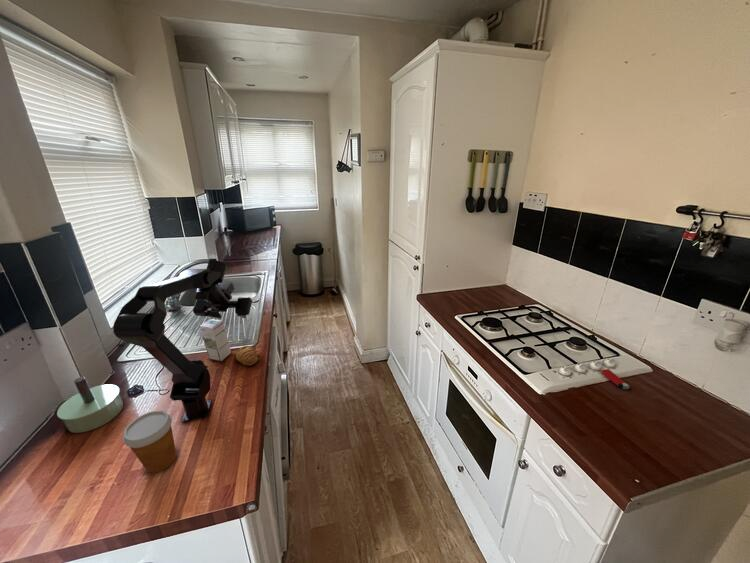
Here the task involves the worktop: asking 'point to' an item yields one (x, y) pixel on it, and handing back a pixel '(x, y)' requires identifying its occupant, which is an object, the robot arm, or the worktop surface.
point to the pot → (95, 418)
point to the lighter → (615, 379)
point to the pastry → (247, 355)
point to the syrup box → (215, 339)
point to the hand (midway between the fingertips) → (233, 317)
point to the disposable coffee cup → (152, 440)
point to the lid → (87, 400)
